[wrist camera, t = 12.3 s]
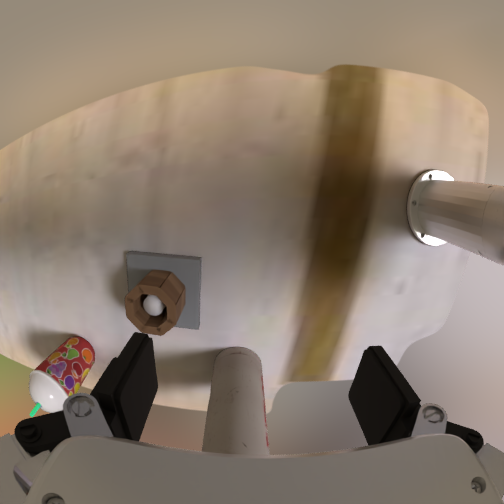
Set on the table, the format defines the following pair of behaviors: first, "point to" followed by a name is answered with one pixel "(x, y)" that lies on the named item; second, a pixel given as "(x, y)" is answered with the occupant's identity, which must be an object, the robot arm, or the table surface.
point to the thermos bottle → (236, 405)
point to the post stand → (185, 272)
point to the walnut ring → (166, 290)
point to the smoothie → (61, 375)
